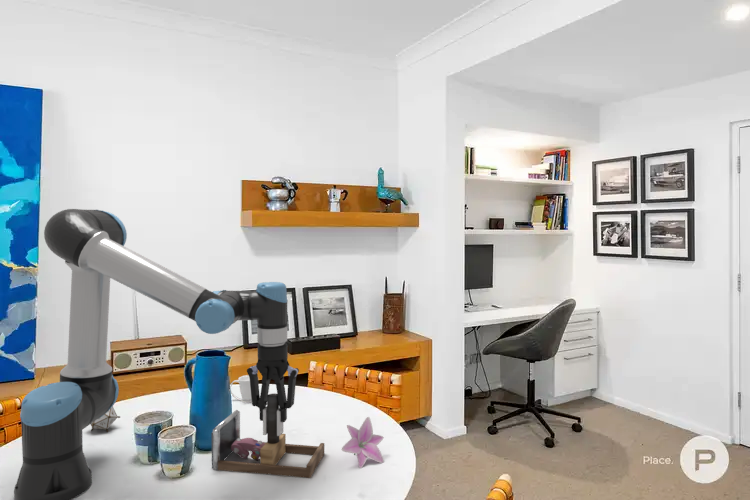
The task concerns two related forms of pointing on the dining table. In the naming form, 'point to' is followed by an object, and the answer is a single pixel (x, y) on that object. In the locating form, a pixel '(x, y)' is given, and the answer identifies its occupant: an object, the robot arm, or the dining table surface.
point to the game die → (105, 420)
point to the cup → (244, 389)
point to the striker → (273, 434)
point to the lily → (364, 443)
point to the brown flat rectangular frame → (280, 469)
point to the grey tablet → (225, 438)
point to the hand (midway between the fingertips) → (273, 433)
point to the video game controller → (247, 447)
